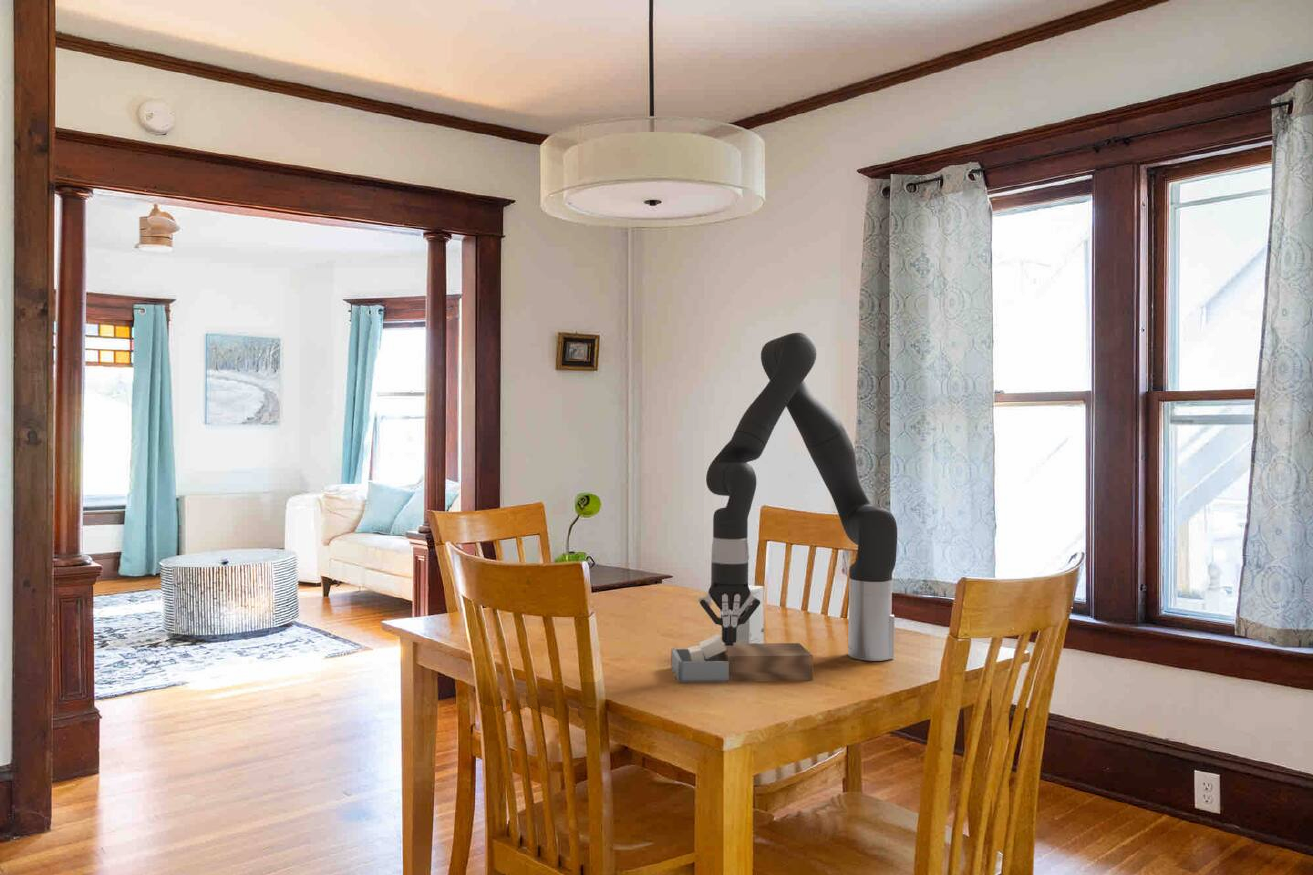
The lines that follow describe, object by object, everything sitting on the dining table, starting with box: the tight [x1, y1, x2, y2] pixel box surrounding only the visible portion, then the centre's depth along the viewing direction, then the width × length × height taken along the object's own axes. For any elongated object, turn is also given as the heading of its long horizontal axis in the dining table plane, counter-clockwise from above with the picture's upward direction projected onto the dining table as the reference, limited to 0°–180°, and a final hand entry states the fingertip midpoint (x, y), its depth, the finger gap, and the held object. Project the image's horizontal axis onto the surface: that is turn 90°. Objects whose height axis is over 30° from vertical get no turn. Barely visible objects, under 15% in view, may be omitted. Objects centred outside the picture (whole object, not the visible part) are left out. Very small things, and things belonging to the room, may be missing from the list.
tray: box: [670, 647, 729, 684], centre depth 193 cm, size 10×12×4 cm
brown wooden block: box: [719, 642, 814, 683], centre depth 195 cm, size 17×11×5 cm, turn 96°
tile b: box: [687, 644, 705, 661], centre depth 194 cm, size 4×4×2 cm
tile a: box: [698, 633, 726, 659], centre depth 195 cm, size 4×4×2 cm
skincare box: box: [728, 584, 765, 644], centre depth 213 cm, size 8×6×15 cm
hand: (728, 644), depth 194 cm, fingers closed
